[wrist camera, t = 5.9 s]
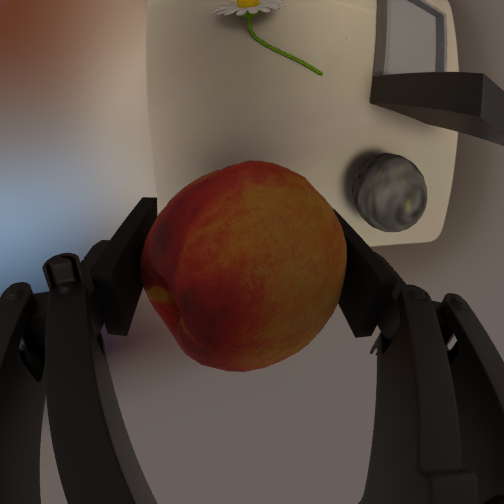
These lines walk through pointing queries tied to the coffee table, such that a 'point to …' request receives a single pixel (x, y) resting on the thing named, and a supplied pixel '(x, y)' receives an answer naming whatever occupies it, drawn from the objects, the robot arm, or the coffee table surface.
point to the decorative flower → (251, 5)
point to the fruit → (245, 265)
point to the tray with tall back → (430, 74)
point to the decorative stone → (389, 192)
